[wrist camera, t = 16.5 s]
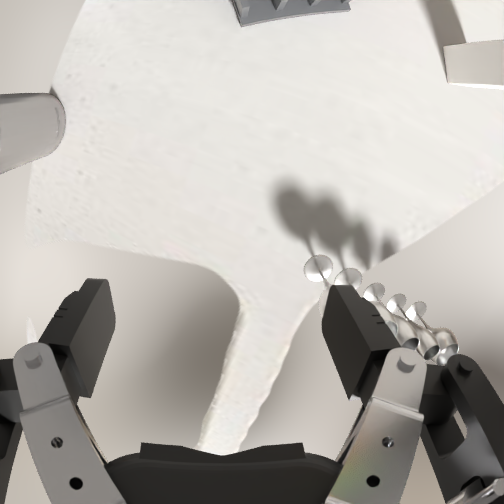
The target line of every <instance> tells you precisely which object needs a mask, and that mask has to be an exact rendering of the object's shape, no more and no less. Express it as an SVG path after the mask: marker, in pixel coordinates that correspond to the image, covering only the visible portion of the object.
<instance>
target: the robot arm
mask: <svg viewBox="0 0 504 504" xmlns="http://www.w3.org/2000/svg"><path fill="white" fill-rule="evenodd" d="M65 124H66V120H65V113H64V109H63V107H62V105H61V103H60V101H59V100H58V99H57V98H56V97H54V96H53V95H51V94H48V93H19V94H1V95H0V174H2V173H5V172H7V171H9V170H11V169H14V168H16V167H19V166H21V165H24V164H26V163H29V162H32V161H34V160H37V159H40V158H42V157H45V156H47V155H49V154H51V153H52V152H53V151H54V150H55V149H56V148H57V147H58V145H59V144H60V142H61V140H62V138H63V135H64V131H65ZM380 315H381V314H380V313H379V311H378V310H377V308H376V307H375V305H373V304H372V303H371V302H369V301H368V300H367V299H366V298H361V297H360V296H359V294H358V293H357V291H356V290H355V288H354V287H353V286H352V285H332V286H331V287H330V289H329V293H328V297H327V301H326V305H325V310H324V314H323V318H322V333H323V336H324V338H325V341H326V344H327V346H328V349H329V351H330V353H331V356H332V359H333V361H334V364H335V366H336V369H337V371H338V374H339V376H340V379H341V381H342V384H343V386H344V389H345V391H346V394H347V397H348V399H349V401H352V400H358V399H361V401H362V403H363V405H362V407H361V409H360V411H359V413H358V415H357V417H356V420H355V422H354V424H353V426H352V428H351V430H350V433H349V435H348V437H347V439H346V441H345V443H344V445H343V447H342V449H341V451H340V453H339V454H338V456H337V458H336V459H335V461H334V460H331V459H329V458H326V457H323V456H320V455H316V454H311V453H305V452H304V448H303V443H293V444H281V445H269V446H268V445H267V446H261V447H257V448H254V449H250V450H246V451H242V452H238V453H234V454H229V455H224V456H221V455H215V454H211V453H207V452H202V451H198V450H194V449H190V448H186V447H183V446H176V445H162V444H151V443H141V450H140V453H134V454H130V455H125V456H122V457H119V458H117V459H115V460H113V461H110V462H108V461H107V459H106V458H105V456H104V455H103V453H102V451H101V450H100V448H99V446H98V444H97V443H96V441H95V439H94V437H93V435H92V433H91V431H90V429H89V427H88V425H87V423H86V421H85V419H84V417H83V415H82V413H81V411H80V409H79V407H78V405H77V402H78V399H79V396H81V397H87V398H91V396H92V393H93V390H94V387H95V384H96V381H97V378H98V375H99V372H100V369H101V366H102V363H103V360H104V357H105V355H106V351H107V349H108V346H109V343H110V341H111V338H112V335H113V333H114V330H115V312H114V307H113V302H112V296H111V291H110V286H109V282H108V280H106V279H92V278H88V279H86V280H85V282H84V284H83V285H82V287H81V288H80V290H79V291H74V292H72V293H71V294H70V295H69V296H67V297H66V298H65V299H64V300H63V302H62V303H61V305H60V306H59V310H57V311H56V313H55V314H54V317H53V318H52V319H51V321H50V323H49V324H48V326H47V328H46V329H45V331H44V332H43V334H42V336H41V338H40V339H39V341H38V342H35V343H30V344H27V345H25V346H23V347H22V348H20V349H19V350H18V351H17V353H16V354H15V356H14V358H13V359H1V360H0V504H4V502H5V497H6V492H7V487H8V483H9V478H10V474H11V470H12V466H13V462H14V458H15V455H16V451H17V447H18V444H19V440H20V437H21V434H22V430H23V431H24V434H25V437H26V440H27V443H28V446H29V449H30V452H31V455H32V458H33V460H34V463H35V466H36V468H37V471H38V474H39V476H40V478H41V481H42V483H43V486H44V488H45V490H46V493H47V495H48V497H49V499H50V501H51V503H52V504H399V502H400V499H401V496H402V494H403V491H404V488H405V485H406V482H407V479H408V476H409V473H410V469H411V466H412V463H413V459H414V456H415V452H416V448H417V445H418V441H419V437H421V439H422V441H423V444H424V446H425V449H426V451H427V454H428V457H429V459H430V462H431V464H432V467H433V470H434V472H435V475H436V478H437V480H438V483H439V486H440V488H441V491H442V494H443V497H444V500H445V503H446V504H504V404H503V403H502V401H501V400H500V398H499V396H498V395H497V393H496V391H495V390H494V388H493V387H492V385H491V384H490V382H489V381H488V379H487V377H486V376H485V374H484V373H483V372H482V370H481V369H480V367H479V366H478V364H477V363H476V362H475V361H474V360H473V359H471V358H469V357H468V356H465V355H461V354H455V355H452V356H451V357H450V358H449V359H448V361H447V363H446V364H445V366H441V365H430V364H426V362H425V360H424V359H423V357H422V356H421V355H420V354H418V353H417V352H415V351H413V350H411V349H408V348H402V347H401V345H400V344H399V342H398V341H397V339H396V337H395V336H394V334H393V333H392V331H391V330H390V328H389V327H388V325H387V324H385V320H384V319H383V317H382V316H380ZM457 410H458V411H459V413H460V415H461V417H462V419H463V421H464V423H465V425H466V427H467V436H466V439H464V437H463V434H462V433H461V430H460V428H459V426H458V424H457V423H456V420H455V418H454V416H453V415H454V414H455V413H456V411H457Z"/></svg>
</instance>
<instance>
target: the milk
mask: <svg viewBox="0 0 504 504" xmlns="http://www.w3.org/2000/svg"><path fill="white" fill-rule="evenodd" d="M443 50H444V57H445V64H446V72H447V80H448V84H456V85H463V86H469V87H478V88H492V89H503V90H504V40H493V41H482V42H472V43H464V44H456V45H449V46H443Z"/></svg>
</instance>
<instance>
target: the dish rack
mask: <svg viewBox="0 0 504 504" xmlns="http://www.w3.org/2000/svg"><path fill="white" fill-rule="evenodd" d="M350 1H351V0H233V3H234V6H235V9H236V12H237V15H238V18H239V21H240V24H241V27H244V26H249V25H253V24H258V23H263V22H268V21H274V20H279V19H286V18H292V17H299V16H306V15H315V14H324V13H336V12H348V11H350V10H351V9H350V6H349V3H348V2H350Z"/></svg>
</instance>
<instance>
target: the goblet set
mask: <svg viewBox="0 0 504 504" xmlns="http://www.w3.org/2000/svg"><path fill="white" fill-rule="evenodd" d="M332 269H333V264H332V261H331V259H330V258H329V257H327V256H325V255H316V256H313V257H312V258H310V259H309V260H308V261H307V262H306V264H305V266H304V274H305V276H306V277H307V278H308V279H309V280H311V281H322V280H323V282H324V286H325V289H324V291H323V292H322V294H321V296H320V299H319V311H320V315H321V317H322V318H323V314H324V310H325V305H326V301H327V297H328V293H329V289H330V287H331V286H332V285H331V284H330V283H329V282H328V281H327V280H326V278H327V277H328V276H329V275H330V274H331V272H332ZM361 282H362V275H361V273H360V272H359V271H358V270H357V269H354V268H349V269H345V270H343V271H341V272H340V273H339V274H338V275H337V277H336V278H335V281H334V285H352V286H353V287H354V288H355V290H357V289H358V287H359V286H360V284H361ZM384 292H385V288H384V286H383V285H382V284H381V283H374V284H371V285H369V286H368V287H367V288H366V289H365V291H364V294H363V298H366V299H367V300H368V301H369V302H371V303H372V304H373V305H375V307H376V308H377V310H378V311H379V313H380V314H381V315H380V316H382V317H383V319H384V320H385V324H387V325H388V327H389V328H390V330H391V331H392V333H393V334H394V336H395V337H396V339H397V341H398V342H399V344H400V345H401V347H402V348H408V349H411V350H413V351H414V350H415V349H416V351H417V352H418V353H419V354H420V355H421V356H422V357H423V359H425V360H432V361H433V362H434V363H436V364H438V365H443V364H446V363H447V361H448V359H449V358H450V357H451V356H452V355H455V354H457V352H458V350H459V345H458V342H457V339H456V336H455V335H454V333H453V332H452V331H451V330H449V329H447V328H435V329H434V328H431V327H430V326H428V325H427V324H426V323H425V321H424V320H423V319H422V318H421V317H422V316H423V315H424V313H425V311H426V304H425V303H424V302H422V301H420V302H416V303H414V304H412V305H411V306H410V307H409V308H408V310H407V312H406V313H405V312H404V311H403V310H402V308H403V307H404V305H405V303H406V297H405V295H403V294H396V295H394V296H393V297H391V298H390V300H389V301H388V304H387V308H386V307H385V306H384V305H383V303H382V302H381V300H380V299H381V298H382V297H383V295H384ZM377 301H379V302H377ZM399 310H401V312H402V313H403V314H404V316H405V318H406V319H404V318H402V317H400V316H397V315H395V314H393V313H391V312H397V311H399ZM419 319H421V321H422V322H423V324H424V325H425V327H426V328H424V327H422V326H420V325H418V324H416V323H414V322H415V321H417V320H419Z"/></svg>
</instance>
